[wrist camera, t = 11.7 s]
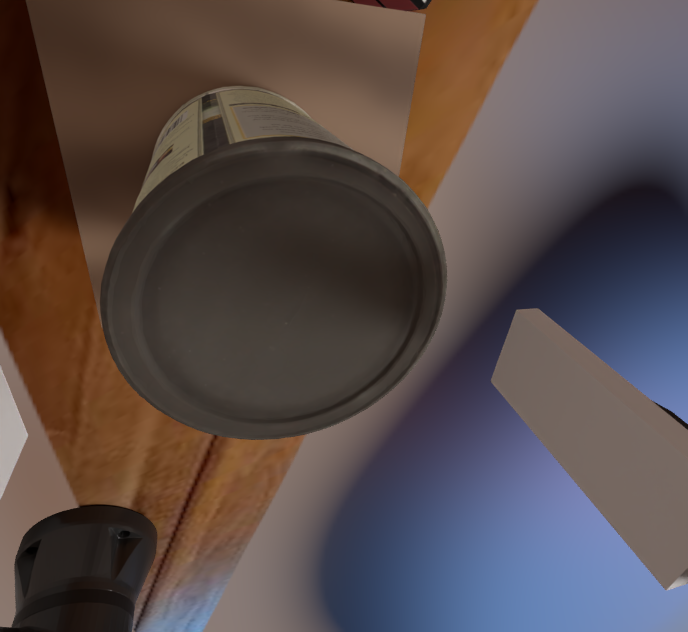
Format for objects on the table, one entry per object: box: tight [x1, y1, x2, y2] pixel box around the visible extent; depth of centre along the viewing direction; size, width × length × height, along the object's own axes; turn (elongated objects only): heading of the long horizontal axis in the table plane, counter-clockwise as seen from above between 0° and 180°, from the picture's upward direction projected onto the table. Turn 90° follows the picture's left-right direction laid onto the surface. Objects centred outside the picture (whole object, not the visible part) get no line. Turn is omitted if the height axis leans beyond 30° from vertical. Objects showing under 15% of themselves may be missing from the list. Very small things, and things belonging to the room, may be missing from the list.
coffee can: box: [100, 86, 447, 440], centre depth 19 cm, size 10×10×14 cm
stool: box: [26, 0, 426, 328], centre depth 29 cm, size 18×18×12 cm
